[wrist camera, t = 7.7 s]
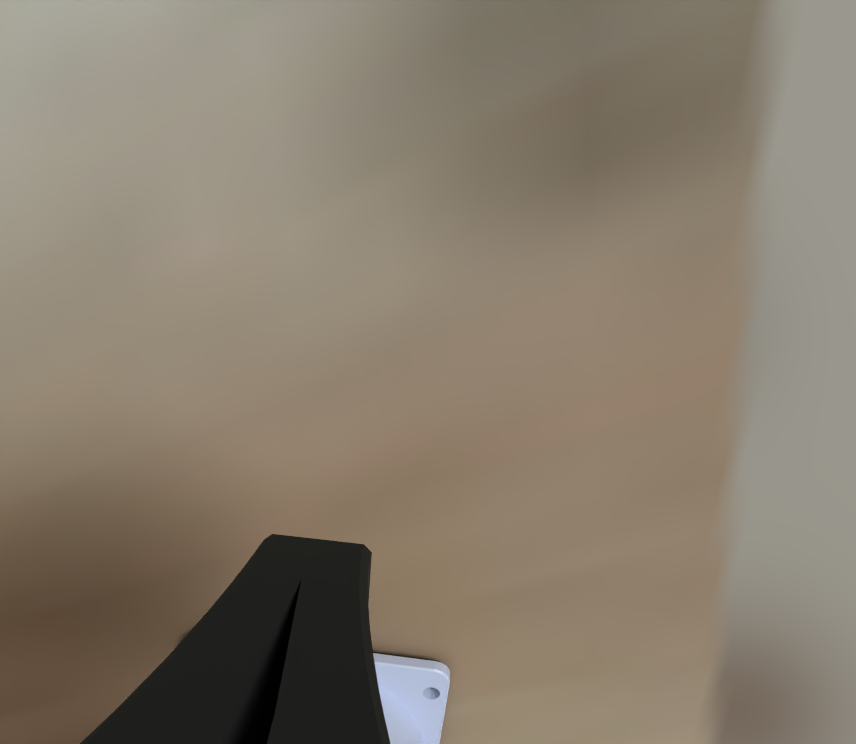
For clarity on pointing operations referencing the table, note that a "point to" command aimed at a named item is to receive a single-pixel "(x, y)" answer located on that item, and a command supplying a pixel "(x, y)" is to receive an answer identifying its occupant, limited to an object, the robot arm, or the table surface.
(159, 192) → the table surface
